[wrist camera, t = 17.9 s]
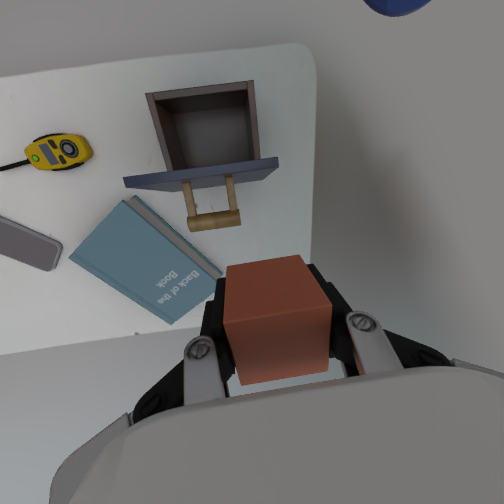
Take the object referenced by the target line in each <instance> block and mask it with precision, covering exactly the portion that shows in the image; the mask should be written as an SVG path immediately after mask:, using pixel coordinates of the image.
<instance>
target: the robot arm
mask: <svg viewBox="0 0 504 504" xmlns="http://www.w3.org/2000/svg"><path fill="white" fill-rule="evenodd" d="M306 266H307V267H308V269H309V270H310V272H311V273H312V275H313V276H314V278H315V279H316V281H317V282H318V284H319V285H320V287H321V288H322V290H323V291H324V293H325V295H326V296H327V298H328V299H329V301H330V302H331V304H332V317H331V332H330V347H329V358H334V357H335V358H336V359H338V360H340V361H341V366H342V370H343V373H344V377H345V378H341V379H335V380H329V381H323V382H317V383H310V384H304V385H298V386H292V387H286V388H281V389H274V390H268V391H263V392H257V393H251V394H245V395H239V396H234V397H230V393H229V388H228V384H227V381H228V380H229V378H230V377H231V376H232V374H235V367H236V366H235V363H234V359H233V356H232V352H231V349H230V345H229V342H228V338H227V335H226V331H225V328H224V325H223V316H224V301H225V286H226V277H224V278H218V279H217V281H216V288H215V296H214V300H212V301H207V302H206V305H205V311H204V316H203V321H202V327H201V332H200V336H198V337H196V338H194V339H193V340H191V341H190V342H189V343H188V344H187V346H186V348H185V350H184V359H183V360H182V361H181V362H180V363H179V364H178V365H176V366H175V367H174V368H173V369H172V370H171V371H170V372H169V373H167V375H165V376H164V377H163V378H162V379H161V380H160V381H159V382H157V384H155V385H154V386H153V387H152V388H151V389H150V390H149V391H147V392H146V393H145V394H144V395H143V396H142V397H141V398H140V400H139V401H138V403H137V404H136V406H135V408H134V410H133V411H132V412H131V413H129V414H128V413H127V412H126V413H125V414H124V415H122V416H121V417H120V418H118V419H117V420H116V421H114V422H113V423H112V424H110V425H109V426H108V427H106V428H105V429H104V430H102V431H101V432H100V433H98V434H97V435H96V436H94V437H93V438H92V439H91V440H89V441H88V442H87V443H85V444H84V445H82V446H81V447H80V448H78V449H77V450H76V451H74V452H73V453H72V454H71V455H70V456H69V457H68V458H67V459H66V460H65V461H64V462H63V464H62V465H61V466H60V467H59V469H58V470H57V472H56V474H55V476H54V478H53V480H52V484H51V488H50V498H49V504H504V373H501V372H497V371H494V370H491V369H487V368H484V367H481V366H477V365H474V364H471V363H467V362H464V361H461V360H458V359H454V358H453V359H452V361H451V360H448V359H447V358H446V357H445V356H444V355H443V354H442V353H440V352H438V351H437V350H435V349H433V348H431V347H428V346H426V345H423V344H420V343H418V342H415V341H413V340H410V339H408V338H405V337H403V336H400V335H397V334H395V333H392V332H390V331H387V330H384V329H382V327H381V325H380V323H379V321H378V320H377V319H376V318H375V317H374V316H372V315H371V314H369V313H366V312H363V311H353V310H352V309H351V308H350V306H349V305H348V304H347V302H346V301H345V300H344V298H343V297H342V296H341V294H340V293H339V292H338V290H337V289H336V288H335V286H334V285H333V284H332V283H331V282H326V281H325V279H324V278H323V276H322V275H321V274H320V272H319V271H318V270H317V268H316V267H315V266H314V264H307V265H306Z"/></svg>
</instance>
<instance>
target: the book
mask: <svg viewBox="0 0 504 504" xmlns="http://www.w3.org/2000/svg"><path fill="white" fill-rule="evenodd" d="M68 258H69V259H70V260H72V261H73V262H75V263H76V264H78V265H80V266H81V267H83V268H84V269H86V270H87V271H89V272H90V273H92V274H93V275H95V276H96V277H98V278H99V279H101V280H103V281H104V282H106V283H107V284H109V285H110V286H112V287H113V288H115V289H116V290H118V291H119V292H121V293H123V294H124V295H126V296H127V297H129V298H130V299H132V300H133V301H135V302H136V303H138V304H139V305H141V306H142V307H144V308H146V309H147V310H149V311H150V312H152V313H153V314H155V315H156V316H158V317H159V318H161V319H162V320H164V321H165V322H167V323H169V324H170V325H172V324H173V323H174V322H175V321H177V320H178V319H180V318H181V317H182V316H184V315H185V314H186V313H187V312H189V311H190V310H191V309H193V308H194V307H195V306H197V305H198V304H199V303H200V302H202V301H203V300H204V299H206V298H207V297H208V296H210V295H211V294H212V293H214V292H215V288H216V281H217V279H218V278H220V276H222V275H223V273H222V272H221V271H220V270H219V269H217V268H216V267H215V266H214V265H213V264H212V263H211V262H210V261H209V260H207V259H206V258H205V257H204V256H203V255H202V254H201V253H200V252H199V251H197V250H196V249H195V248H194V247H193V246H192V245H191V244H190V243H189V242H187V241H186V240H185V239H184V238H183V237H182V236H181V235H180V234H178V233H177V232H176V231H175V230H174V229H173V228H172V227H171V226H170V225H168V224H167V223H166V222H165V221H164V220H163V219H162V218H161V217H160V216H158V215H157V214H156V213H155V212H154V211H153V210H152V209H151V208H150V207H148V206H147V205H146V204H145V203H144V202H143V201H142V200H141V199H140V198H138V197H137V196H136V195H135V196H133V197H132V198H131V199H130V200H129V201H127V202H126V201H125V200H122V201H121V202H120V203H119V204H118V205H117V206H116V207H115V208H114V209H113V210H112V211H111V212H110V213H109V214H108V216H107V217H106V218H105V219H104V220H103V221H102V222H101V223H100V224H99V225H98V226H97V227H96V228H95V229H94V231H93V232H92V233H91V234H90V235H89V236H88V237H87V238H86V239H85V240H84V241H83V242H82V243H81V244H80V246H79V247H78V248H77V249H76V250H75V251H74V253H72V254H71V255H70V256H69V257H68Z"/></svg>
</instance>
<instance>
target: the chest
mask: <svg viewBox="0 0 504 504" xmlns="http://www.w3.org/2000/svg"><path fill="white" fill-rule="evenodd" d="M145 95H146V99H147V102H148V106H149V109H150V112H151V116H152V119H153V123H154V126H155V130H156V133H157V137H158V140H159V143H160V147H161V150H162V154H163V157H164V161H165V164H166V168H167V171H174V170H182V169H189V168H197V167H205V166H212V165H220V164H227V163H235V162H242V161H250V160H257V159H260V148H259V137H258V125H257V114H256V103H255V91H254V80H249V81H242V82H234V83H226V84H218V85H209V86H201V87H193V88H185V89H176V90H168V91H160V92H153V93H152V92H151V93H145Z"/></svg>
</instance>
